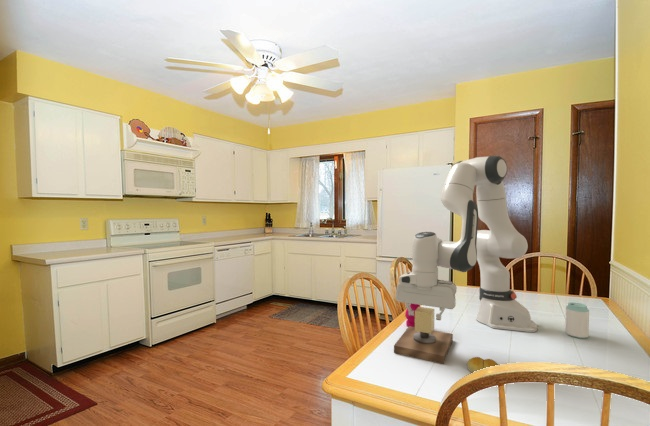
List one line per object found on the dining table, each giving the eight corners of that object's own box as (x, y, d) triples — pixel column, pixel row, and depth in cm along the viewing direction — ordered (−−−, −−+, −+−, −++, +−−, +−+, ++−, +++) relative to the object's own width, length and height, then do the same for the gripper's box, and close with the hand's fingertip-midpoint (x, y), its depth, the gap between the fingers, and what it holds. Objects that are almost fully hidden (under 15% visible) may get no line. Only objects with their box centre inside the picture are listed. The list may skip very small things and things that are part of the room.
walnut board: (452, 340, 119) (452, 314, 119) (443, 363, 102) (443, 333, 102) (409, 332, 127) (409, 307, 127) (393, 352, 110) (394, 324, 109)
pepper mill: (424, 329, 130) (424, 280, 129) (405, 328, 131) (405, 279, 131) (422, 323, 137) (422, 276, 136) (404, 322, 138) (404, 275, 138)
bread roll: (469, 363, 103) (469, 350, 103) (501, 370, 98) (501, 357, 98) (465, 374, 96) (465, 361, 96) (499, 383, 91) (499, 369, 91)
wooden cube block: (434, 328, 115) (434, 308, 115) (431, 333, 111) (431, 313, 110) (418, 325, 118) (418, 306, 118) (414, 330, 113) (414, 310, 113)
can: (568, 337, 122) (569, 306, 122) (562, 331, 129) (563, 300, 128) (591, 340, 119) (592, 308, 119) (584, 333, 126) (585, 302, 126)
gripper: (457, 279, 112) (457, 319, 112) (399, 273, 122) (399, 310, 122) (455, 283, 106) (455, 325, 106) (394, 277, 116) (394, 315, 116)
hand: (424, 317), depth 114 cm, fingers open, 8 cm apart
